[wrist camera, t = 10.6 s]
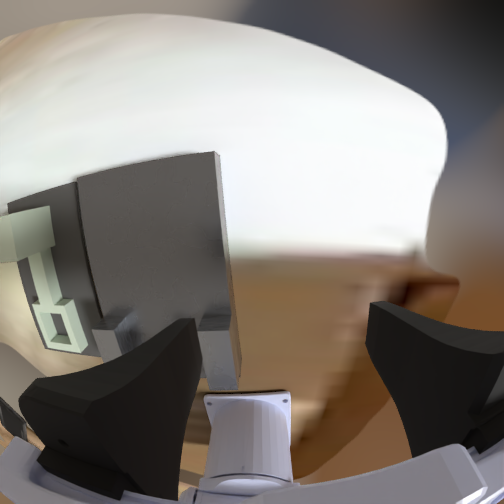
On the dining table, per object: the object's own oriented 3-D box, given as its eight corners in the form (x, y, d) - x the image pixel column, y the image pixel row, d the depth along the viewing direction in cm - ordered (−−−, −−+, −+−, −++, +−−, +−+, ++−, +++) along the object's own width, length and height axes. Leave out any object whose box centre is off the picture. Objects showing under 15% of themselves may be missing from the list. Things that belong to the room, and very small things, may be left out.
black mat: (115, 356, 22) (114, 358, 22) (47, 347, 23) (45, 348, 22) (76, 182, 18) (73, 182, 18) (10, 203, 19) (7, 203, 18)
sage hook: (88, 344, 22) (62, 374, 17) (55, 340, 22) (29, 365, 17) (54, 204, 18) (14, 212, 13) (22, 212, 18) (-15, 222, 14)
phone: (1, 424, 30) (-5, 397, 26) (3, 422, 31) (-2, 393, 27) (26, 447, 31) (24, 424, 27) (28, 444, 32) (27, 421, 28)
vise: (241, 358, 22) (237, 414, 15) (133, 357, 22) (105, 403, 16) (219, 155, 18) (201, 141, 12) (95, 177, 18) (40, 179, 12)
